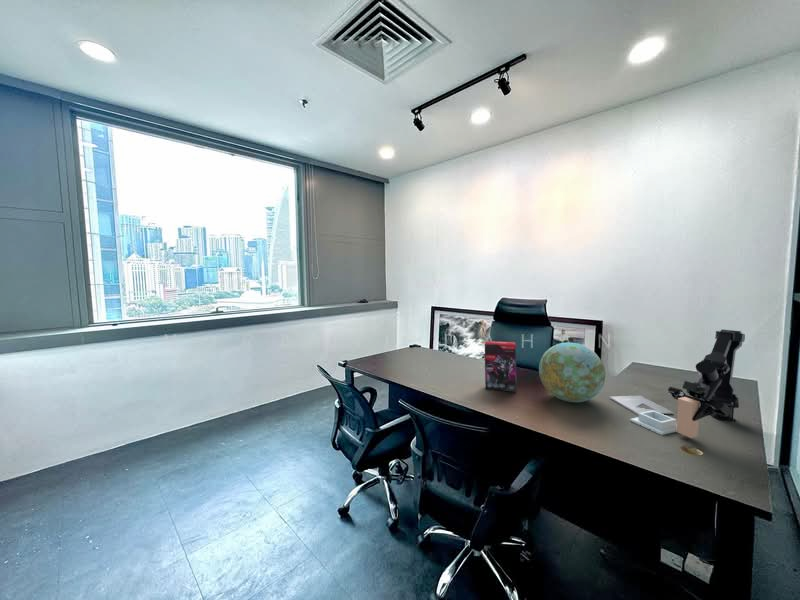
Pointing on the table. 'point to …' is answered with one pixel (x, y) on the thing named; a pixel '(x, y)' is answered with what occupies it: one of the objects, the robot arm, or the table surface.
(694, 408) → the tall salmon pillar
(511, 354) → the graphics card box
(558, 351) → the decorative globe
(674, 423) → the white square socket base
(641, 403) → the play button award
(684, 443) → the table surface
